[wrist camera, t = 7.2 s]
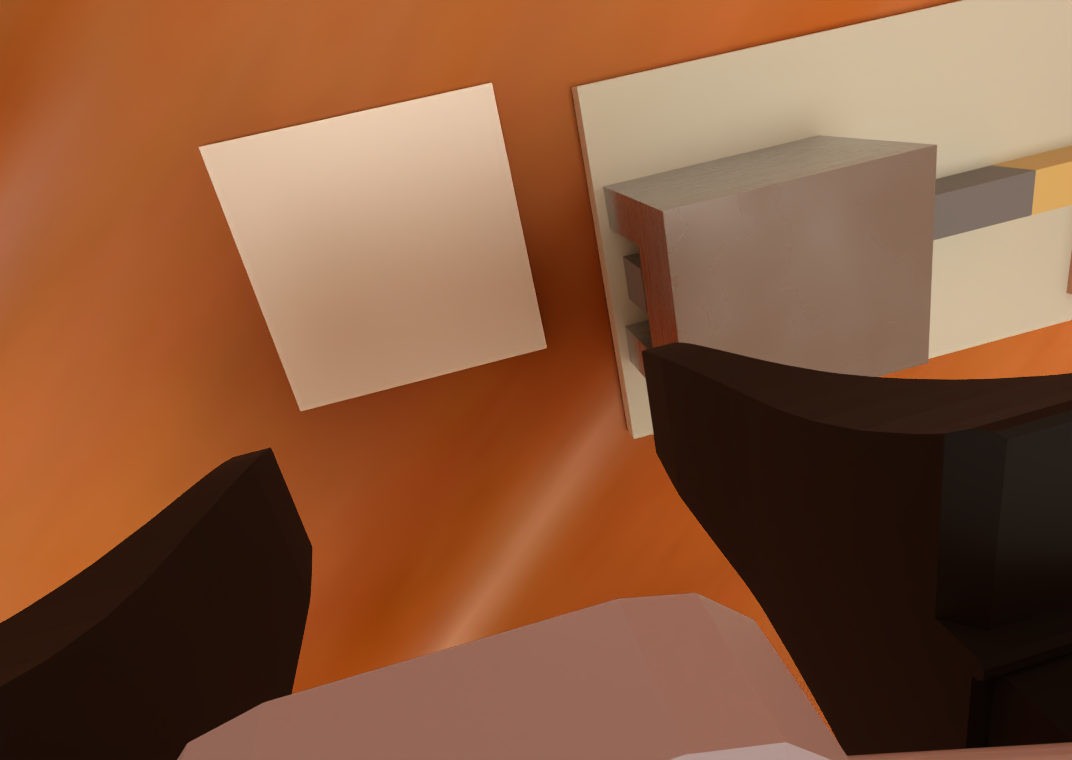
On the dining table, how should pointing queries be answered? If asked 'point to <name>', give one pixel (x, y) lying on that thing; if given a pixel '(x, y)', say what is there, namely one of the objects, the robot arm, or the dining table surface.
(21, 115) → the dining table surface
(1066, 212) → the rail board
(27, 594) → the dining table surface
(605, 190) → the clip
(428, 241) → the pad
